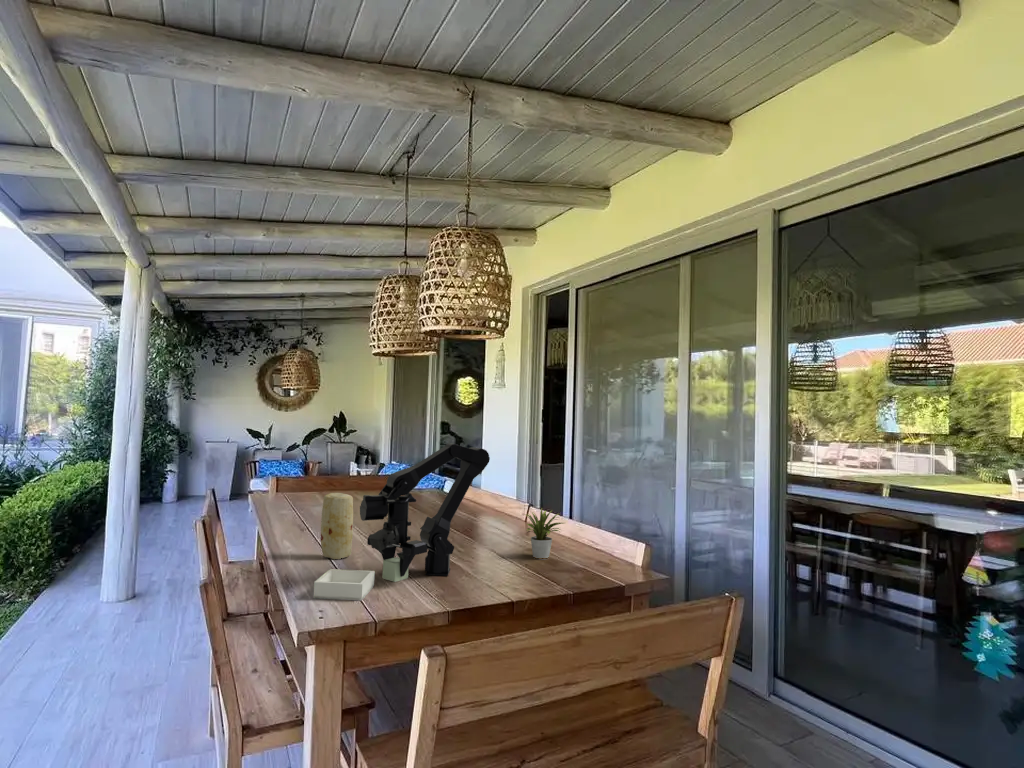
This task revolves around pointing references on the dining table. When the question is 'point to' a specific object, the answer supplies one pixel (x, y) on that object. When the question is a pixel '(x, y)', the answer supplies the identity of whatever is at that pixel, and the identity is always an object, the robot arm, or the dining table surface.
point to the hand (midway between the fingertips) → (395, 574)
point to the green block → (393, 570)
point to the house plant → (541, 534)
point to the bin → (344, 584)
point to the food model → (337, 525)
